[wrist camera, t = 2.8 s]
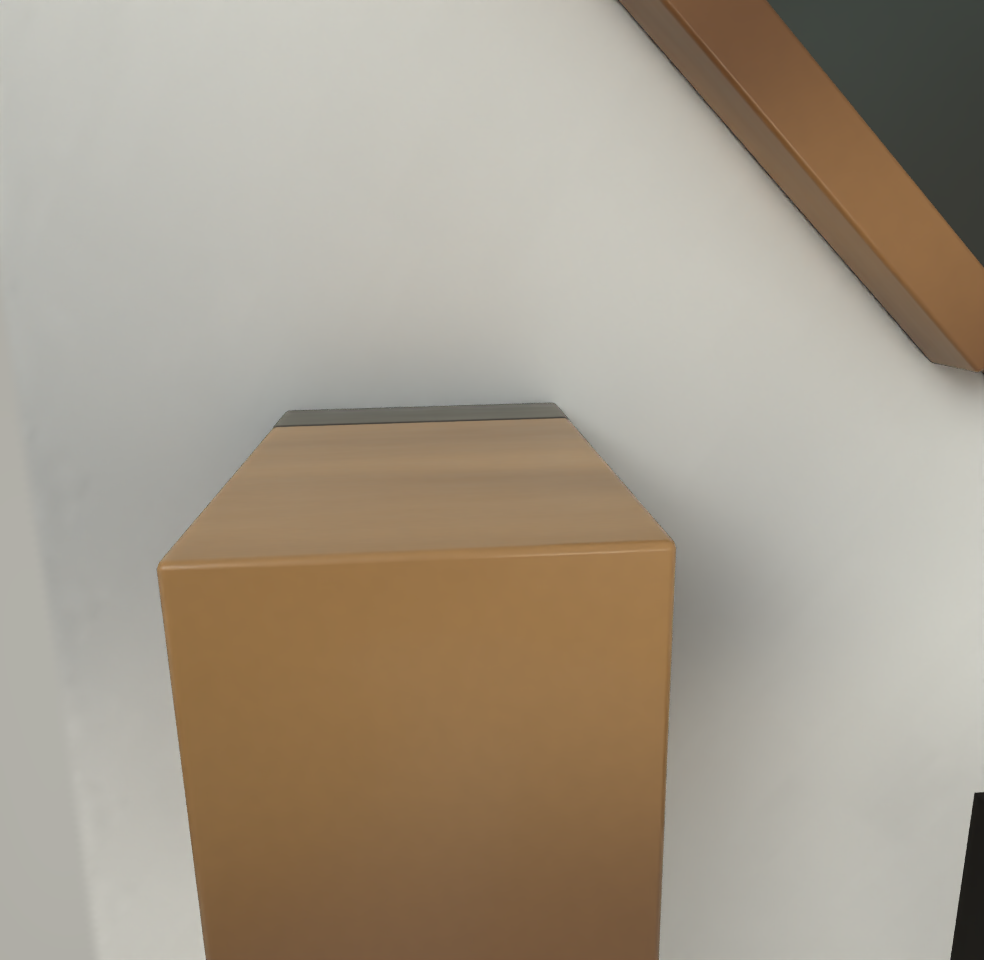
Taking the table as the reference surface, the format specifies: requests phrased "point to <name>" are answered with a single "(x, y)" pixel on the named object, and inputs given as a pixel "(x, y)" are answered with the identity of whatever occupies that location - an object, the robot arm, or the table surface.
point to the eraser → (424, 692)
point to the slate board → (860, 136)
